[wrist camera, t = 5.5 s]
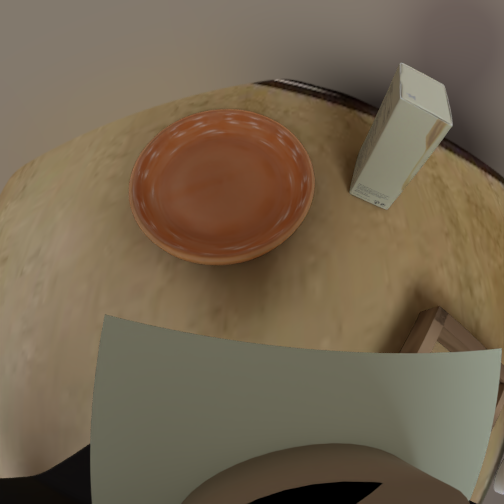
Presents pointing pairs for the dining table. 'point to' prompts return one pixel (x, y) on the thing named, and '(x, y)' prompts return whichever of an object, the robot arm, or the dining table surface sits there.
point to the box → (447, 341)
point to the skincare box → (401, 136)
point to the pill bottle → (499, 479)
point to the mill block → (284, 422)
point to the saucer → (221, 187)
